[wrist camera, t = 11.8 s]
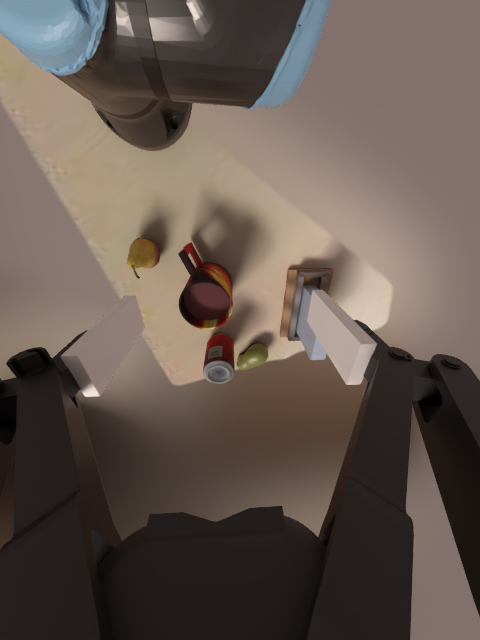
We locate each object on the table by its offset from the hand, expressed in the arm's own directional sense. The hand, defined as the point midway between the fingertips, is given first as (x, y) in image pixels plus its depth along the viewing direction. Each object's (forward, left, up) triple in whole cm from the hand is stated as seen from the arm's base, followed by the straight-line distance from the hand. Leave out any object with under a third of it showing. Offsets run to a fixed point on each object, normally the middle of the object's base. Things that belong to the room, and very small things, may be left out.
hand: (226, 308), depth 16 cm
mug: (+8, -6, -32) cm, 33 cm away
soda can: (+26, -3, -32) cm, 41 cm away
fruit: (+2, -17, -32) cm, 36 cm away
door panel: (+16, +18, -30) cm, 39 cm away
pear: (+30, +6, -32) cm, 44 cm away
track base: (+15, +18, -31) cm, 39 cm away
